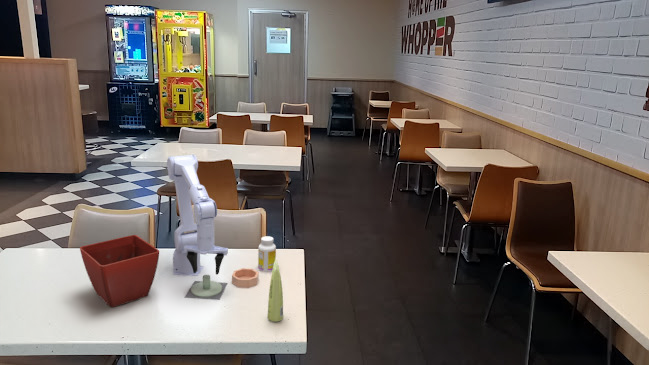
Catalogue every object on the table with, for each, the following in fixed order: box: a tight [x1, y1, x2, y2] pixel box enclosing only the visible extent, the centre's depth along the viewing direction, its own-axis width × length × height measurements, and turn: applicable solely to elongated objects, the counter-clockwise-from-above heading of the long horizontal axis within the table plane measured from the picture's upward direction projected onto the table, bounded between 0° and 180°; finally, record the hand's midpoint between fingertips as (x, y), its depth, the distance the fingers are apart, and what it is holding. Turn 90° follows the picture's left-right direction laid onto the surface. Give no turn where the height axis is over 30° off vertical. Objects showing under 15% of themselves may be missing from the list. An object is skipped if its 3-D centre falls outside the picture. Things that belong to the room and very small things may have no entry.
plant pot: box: [79, 234, 160, 308], centre depth 164 cm, size 19×19×17 cm
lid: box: [190, 274, 222, 297], centre depth 170 cm, size 10×10×5 cm
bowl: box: [231, 267, 260, 289], centre depth 178 cm, size 9×9×4 cm
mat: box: [184, 280, 228, 301], centre depth 171 cm, size 12×12×1 cm
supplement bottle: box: [257, 235, 277, 273], centre depth 188 cm, size 7×7×13 cm
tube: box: [267, 256, 284, 323], centre depth 154 cm, size 6×5×20 cm
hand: (206, 272), depth 169 cm, fingers open, 7 cm apart
